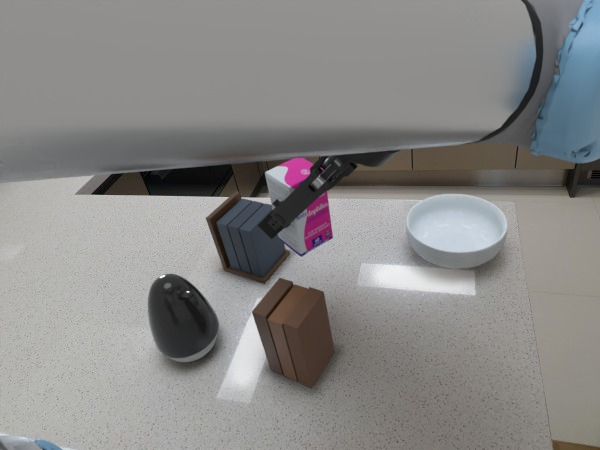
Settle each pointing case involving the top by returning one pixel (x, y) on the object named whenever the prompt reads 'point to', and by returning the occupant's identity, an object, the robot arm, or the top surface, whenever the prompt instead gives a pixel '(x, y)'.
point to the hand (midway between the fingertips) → (282, 214)
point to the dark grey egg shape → (181, 319)
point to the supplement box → (311, 222)
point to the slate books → (245, 239)
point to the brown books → (295, 331)
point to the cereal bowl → (456, 230)
